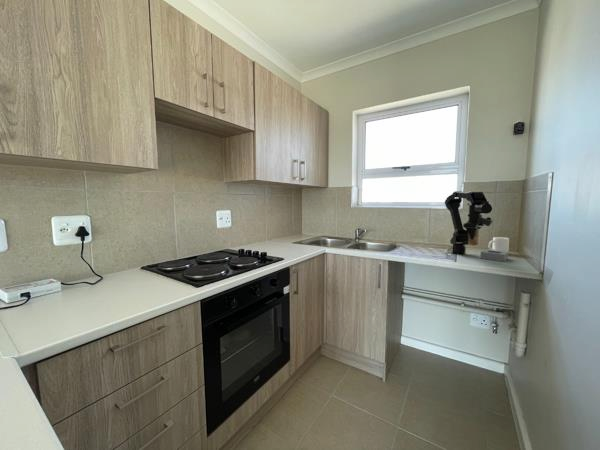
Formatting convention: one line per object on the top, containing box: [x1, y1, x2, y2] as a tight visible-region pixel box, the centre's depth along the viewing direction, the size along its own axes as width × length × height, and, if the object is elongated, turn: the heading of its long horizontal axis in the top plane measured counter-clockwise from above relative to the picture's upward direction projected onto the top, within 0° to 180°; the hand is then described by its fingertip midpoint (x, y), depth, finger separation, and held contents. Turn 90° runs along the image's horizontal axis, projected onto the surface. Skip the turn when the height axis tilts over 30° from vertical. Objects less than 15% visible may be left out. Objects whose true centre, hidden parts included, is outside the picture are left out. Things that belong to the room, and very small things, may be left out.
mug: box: [487, 236, 510, 253], centre depth 161 cm, size 12×8×10 cm
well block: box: [480, 249, 509, 263], centre depth 147 cm, size 11×11×4 cm
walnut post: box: [468, 228, 480, 246], centre depth 147 cm, size 4×4×10 cm
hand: (473, 238), depth 147 cm, fingers closed on walnut post, 4 cm apart
